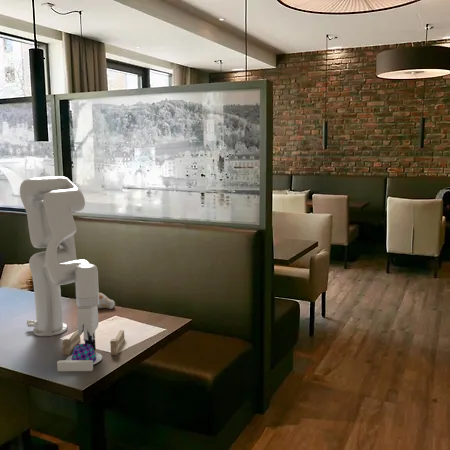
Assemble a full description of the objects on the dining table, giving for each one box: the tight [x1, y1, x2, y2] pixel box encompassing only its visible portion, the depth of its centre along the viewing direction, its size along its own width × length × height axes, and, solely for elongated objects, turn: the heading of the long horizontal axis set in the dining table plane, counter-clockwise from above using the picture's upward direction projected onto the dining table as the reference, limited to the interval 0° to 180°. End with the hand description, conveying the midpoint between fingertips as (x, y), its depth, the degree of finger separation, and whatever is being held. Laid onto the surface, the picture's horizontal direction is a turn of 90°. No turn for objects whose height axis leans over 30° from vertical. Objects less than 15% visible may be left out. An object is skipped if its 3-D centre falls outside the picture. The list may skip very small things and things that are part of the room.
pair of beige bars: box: [61, 330, 125, 356], centre depth 173 cm, size 18×14×5 cm
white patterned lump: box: [97, 292, 116, 310], centre depth 215 cm, size 8×10×10 cm
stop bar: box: [56, 359, 94, 372], centre depth 155 cm, size 11×2×3 cm, turn 89°
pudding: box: [65, 343, 103, 366], centre depth 162 cm, size 12×12×5 cm
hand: (90, 350), depth 167 cm, fingers closed
